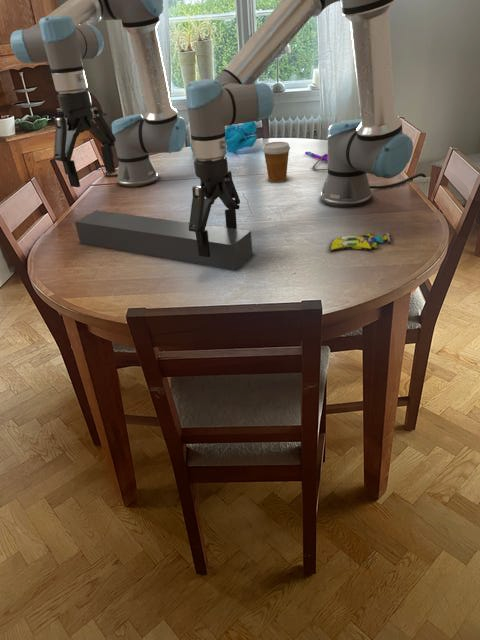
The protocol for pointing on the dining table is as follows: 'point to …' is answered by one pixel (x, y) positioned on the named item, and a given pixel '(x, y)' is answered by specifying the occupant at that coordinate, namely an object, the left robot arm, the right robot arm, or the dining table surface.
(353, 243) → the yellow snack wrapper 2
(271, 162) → the disposable coffee cup
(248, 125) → the toy
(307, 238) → the dining table surface
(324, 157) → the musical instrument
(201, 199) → the right robot arm
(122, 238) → the thick board
